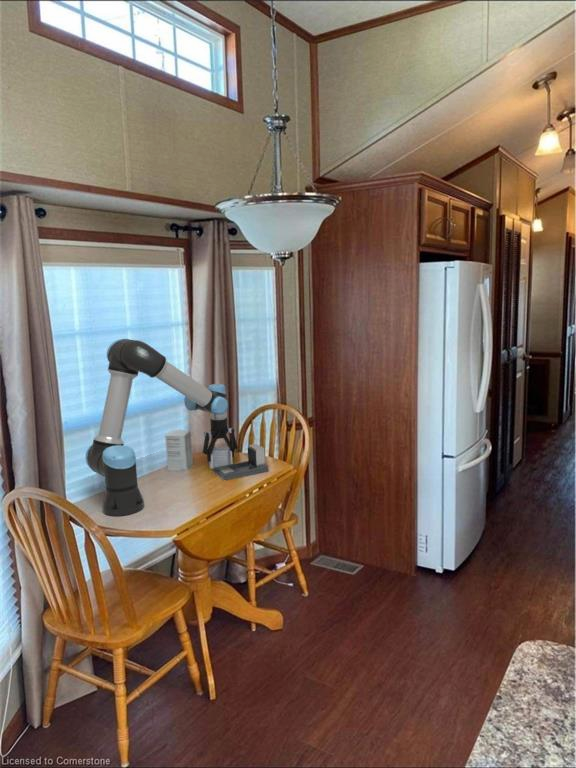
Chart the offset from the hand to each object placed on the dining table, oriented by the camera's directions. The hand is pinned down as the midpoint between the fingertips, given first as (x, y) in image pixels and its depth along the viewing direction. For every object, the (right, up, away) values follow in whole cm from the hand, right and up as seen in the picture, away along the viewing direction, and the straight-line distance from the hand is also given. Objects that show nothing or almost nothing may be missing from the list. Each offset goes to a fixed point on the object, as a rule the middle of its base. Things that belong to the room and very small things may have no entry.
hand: (221, 466), depth 260 cm
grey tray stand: (+10, -2, -8) cm, 12 cm away
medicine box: (0, 0, 0) cm, 0 cm away
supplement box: (-19, -1, +2) cm, 19 cm away
